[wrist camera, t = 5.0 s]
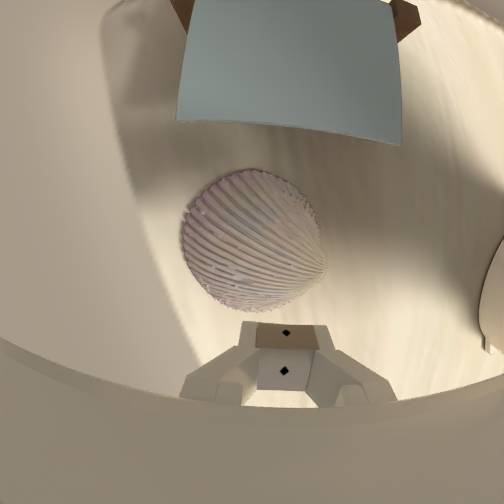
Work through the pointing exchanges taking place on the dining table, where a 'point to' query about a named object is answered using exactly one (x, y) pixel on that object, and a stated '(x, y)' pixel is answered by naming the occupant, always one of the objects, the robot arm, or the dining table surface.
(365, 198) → the dining table surface
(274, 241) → the seashell
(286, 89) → the trapdoor
